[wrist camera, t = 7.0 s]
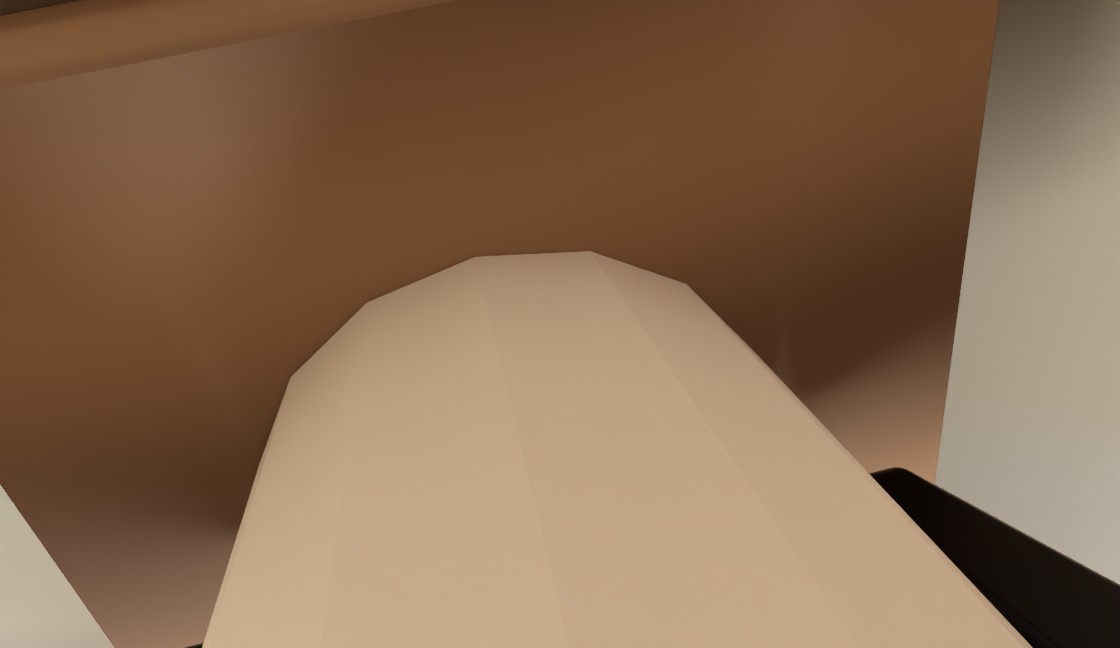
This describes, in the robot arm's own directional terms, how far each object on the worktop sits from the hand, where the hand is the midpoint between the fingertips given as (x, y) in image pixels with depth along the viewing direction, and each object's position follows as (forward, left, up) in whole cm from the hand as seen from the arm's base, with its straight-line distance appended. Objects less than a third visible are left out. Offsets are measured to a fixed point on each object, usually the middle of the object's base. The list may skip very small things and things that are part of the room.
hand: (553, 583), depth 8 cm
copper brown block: (0, 0, -6) cm, 6 cm away
